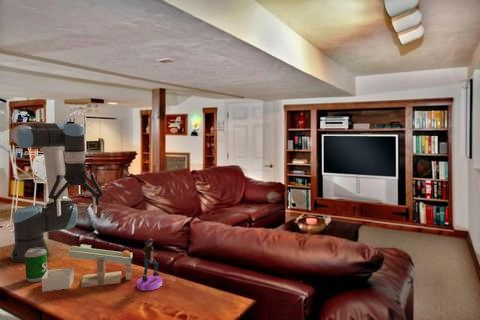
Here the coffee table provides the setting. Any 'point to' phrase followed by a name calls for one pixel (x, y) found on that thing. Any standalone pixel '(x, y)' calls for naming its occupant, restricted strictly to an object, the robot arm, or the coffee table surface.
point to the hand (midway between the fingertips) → (77, 214)
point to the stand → (104, 275)
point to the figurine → (150, 280)
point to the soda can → (35, 264)
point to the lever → (98, 254)
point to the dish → (57, 279)
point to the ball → (125, 254)
